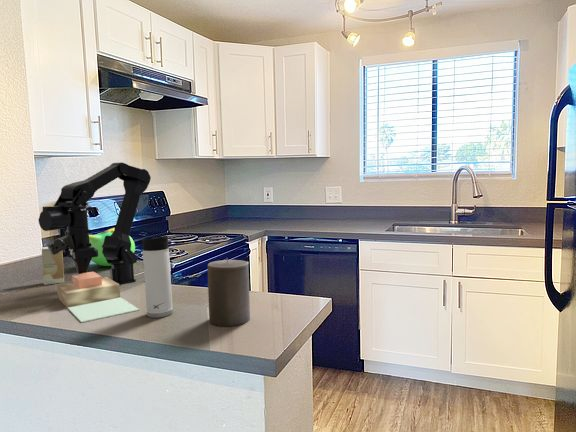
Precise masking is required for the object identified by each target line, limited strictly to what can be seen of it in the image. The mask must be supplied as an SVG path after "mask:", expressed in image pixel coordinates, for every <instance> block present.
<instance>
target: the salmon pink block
mask: <svg viewBox="0 0 576 432" xmlns="http://www.w3.org/2000/svg"><path fill="white" fill-rule="evenodd" d="M102 278H103V277H102V276H101V274H98V273H96V272H95V271H89V272H87V271H86V273H81V274H78V273H75V274H71V283H73V284H74V285H75V286H77V287H78V288H79V289H82V288H87V287H93V286H99V285H102Z"/></svg>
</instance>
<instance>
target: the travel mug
mask: <svg viewBox="0 0 576 432" xmlns="http://www.w3.org/2000/svg"><path fill="white" fill-rule="evenodd" d="M141 241H142V243H141V244H142V257H143V259H142V260H143V274H144V288H145V290H144V291H145V303H146V304H145V305H146V316H147V317H148V318H153V319H154V318H155V319H159V318H165V317H169V316H171V315H172V314H173V312H174V310H173V295H172V279H171V277H172V276H171V262H170V259H171V258H170V247H169V236H168V235H161V236H157V237H151V238H150V239H148V238H147V239H146V238H145V239H142V240H141Z"/></svg>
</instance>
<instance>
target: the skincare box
mask: <svg viewBox="0 0 576 432" xmlns="http://www.w3.org/2000/svg"><path fill="white" fill-rule="evenodd" d="M63 253H64V252H63V250H62V251H60V252H59V253H57V254H55V255H52V254H51V252H50V251H49V249H48V247H47V246H43V247H41V261H42V262H41V264H42V265H41V266H42V277H43V278H42V279H43V280H42V281H43V285H44V286H47V285H48V286H49V285H55V284H65V274H64V273H65V272H64V257H63V256H64V255H63Z"/></svg>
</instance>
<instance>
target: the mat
mask: <svg viewBox="0 0 576 432" xmlns="http://www.w3.org/2000/svg"><path fill="white" fill-rule="evenodd" d="M67 310H69V312H70V313H71V314H72V315H74V317H75V318H76V319H77V320H78V321H79V322H80V323H81V324H82V323H86V322H92V321H97V320H101V319H102V320H103V319H107V318H110V317H115V316H120V315H124V314H129V313H134V312H138V311H140V308H138V307H136V306H135V305H134V304H132V303H130V302H129V301H127V300H126V299H124V298H122V297H121V296H120V298H114V299H109V300H104V301H99V302H94V303H88V304H83V305H78V306H73V307H68V308H67Z"/></svg>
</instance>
